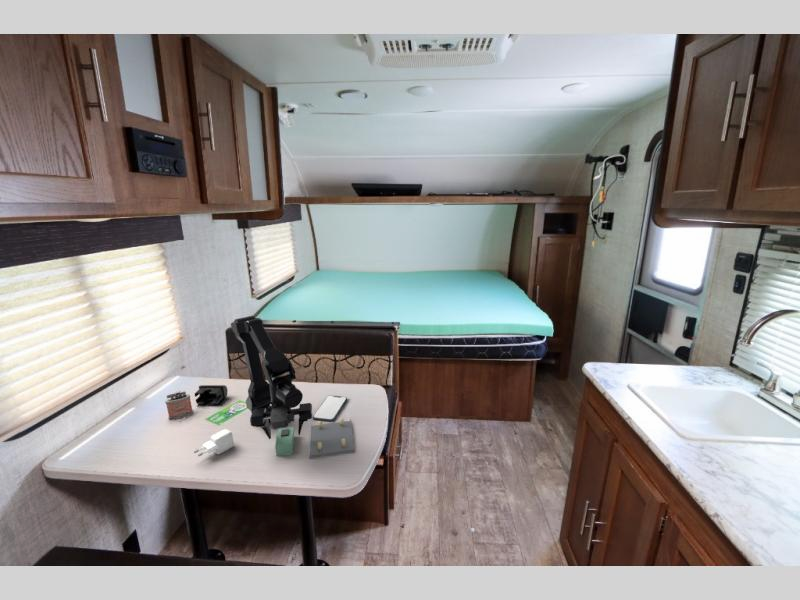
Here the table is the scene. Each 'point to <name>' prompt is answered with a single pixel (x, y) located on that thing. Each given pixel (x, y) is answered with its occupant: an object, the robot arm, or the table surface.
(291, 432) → the circuit board module
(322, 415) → the smartphone
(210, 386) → the end cap
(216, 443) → the power adapter
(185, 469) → the table surface
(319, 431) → the chassis
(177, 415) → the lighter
